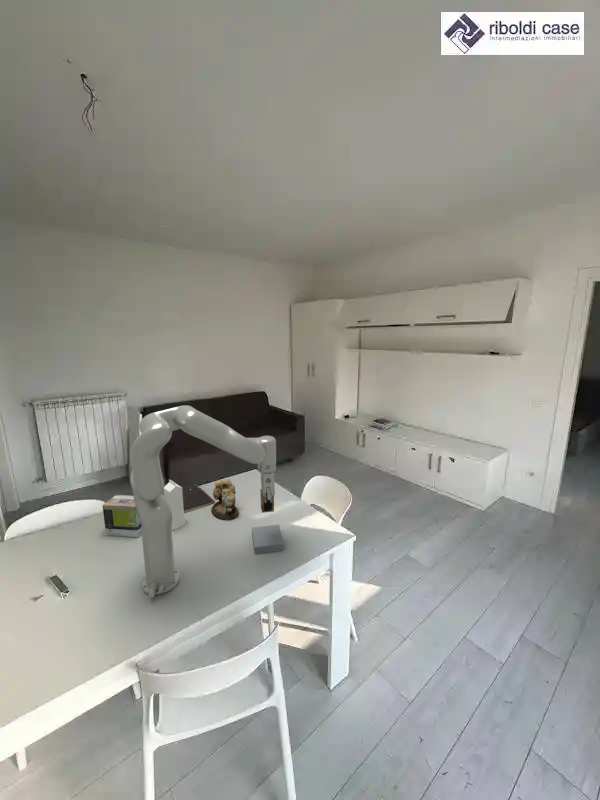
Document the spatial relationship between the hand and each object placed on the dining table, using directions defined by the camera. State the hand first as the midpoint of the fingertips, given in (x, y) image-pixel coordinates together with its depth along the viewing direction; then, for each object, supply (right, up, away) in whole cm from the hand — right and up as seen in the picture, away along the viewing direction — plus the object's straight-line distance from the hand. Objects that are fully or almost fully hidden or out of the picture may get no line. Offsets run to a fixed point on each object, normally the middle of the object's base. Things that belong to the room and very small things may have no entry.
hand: (267, 506), depth 141 cm
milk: (-44, -13, +14) cm, 48 cm away
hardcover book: (-44, -9, +38) cm, 59 cm away
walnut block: (0, -1, 0) cm, 1 cm away
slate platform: (0, -16, +3) cm, 16 cm away
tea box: (-63, -14, +10) cm, 65 cm away
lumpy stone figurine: (-24, -11, +26) cm, 37 cm away
